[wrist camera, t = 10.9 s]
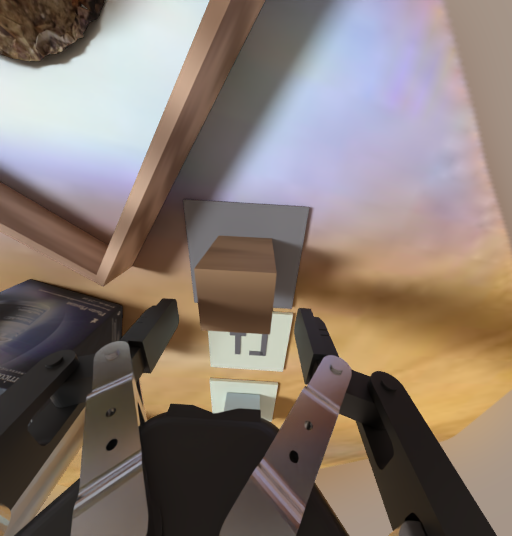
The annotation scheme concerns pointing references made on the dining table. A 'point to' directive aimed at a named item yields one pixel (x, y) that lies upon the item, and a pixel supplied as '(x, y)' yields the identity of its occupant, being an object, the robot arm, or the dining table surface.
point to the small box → (50, 327)
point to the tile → (252, 346)
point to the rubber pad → (250, 225)
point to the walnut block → (237, 285)
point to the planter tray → (155, 162)
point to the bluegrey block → (242, 401)
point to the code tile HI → (244, 387)
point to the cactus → (43, 26)
